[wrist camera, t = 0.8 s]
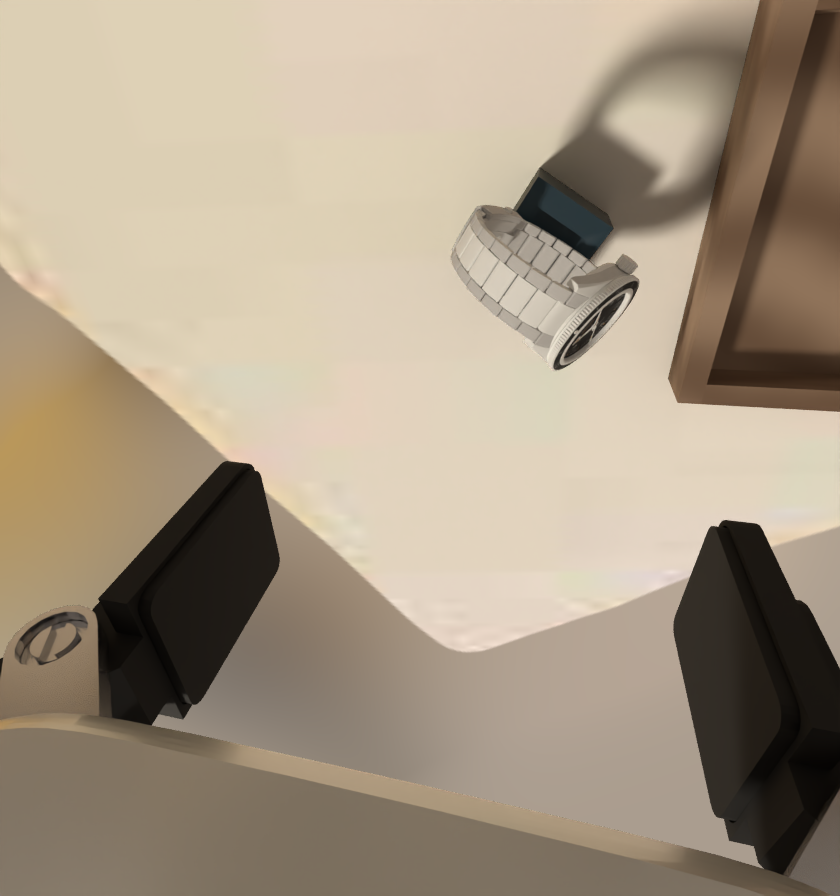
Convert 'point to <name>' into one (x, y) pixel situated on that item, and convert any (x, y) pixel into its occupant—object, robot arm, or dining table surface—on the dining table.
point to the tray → (773, 228)
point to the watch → (545, 269)
